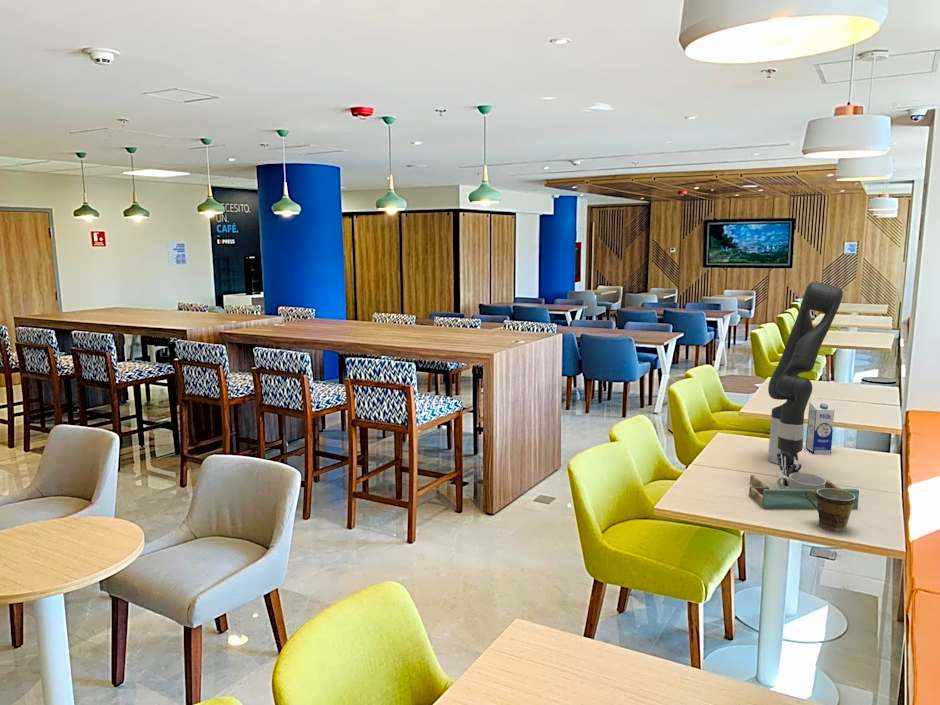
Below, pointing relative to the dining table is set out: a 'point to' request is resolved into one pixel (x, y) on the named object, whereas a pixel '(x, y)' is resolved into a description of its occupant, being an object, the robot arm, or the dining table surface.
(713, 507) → the dining table surface
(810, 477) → the teacup
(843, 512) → the ceramic cup
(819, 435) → the milk carton
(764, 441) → the dining table surface
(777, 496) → the teal wooden tray
